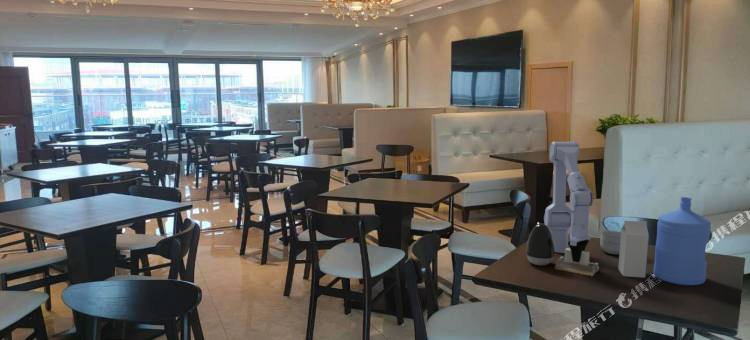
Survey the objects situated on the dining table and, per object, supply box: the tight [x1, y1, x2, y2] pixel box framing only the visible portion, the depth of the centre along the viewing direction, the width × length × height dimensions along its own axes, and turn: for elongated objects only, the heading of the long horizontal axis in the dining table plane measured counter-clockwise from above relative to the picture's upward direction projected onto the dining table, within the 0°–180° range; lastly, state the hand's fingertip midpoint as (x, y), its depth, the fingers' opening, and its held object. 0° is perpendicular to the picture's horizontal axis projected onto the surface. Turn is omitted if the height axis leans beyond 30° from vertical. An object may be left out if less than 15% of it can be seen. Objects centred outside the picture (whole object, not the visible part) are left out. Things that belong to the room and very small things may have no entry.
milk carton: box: [617, 220, 650, 279], centre depth 186 cm, size 7×7×19 cm
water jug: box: [652, 196, 712, 286], centre depth 181 cm, size 16×16×28 cm
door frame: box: [554, 256, 600, 277], centre depth 192 cm, size 9×13×3 cm
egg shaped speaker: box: [525, 222, 556, 267], centre depth 197 cm, size 10×10×15 cm
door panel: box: [563, 248, 590, 266], centre depth 192 cm, size 2×8×6 cm, turn 54°
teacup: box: [599, 230, 621, 256], centre depth 210 cm, size 14×11×8 cm
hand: (577, 260), depth 192 cm, fingers open, 3 cm apart
